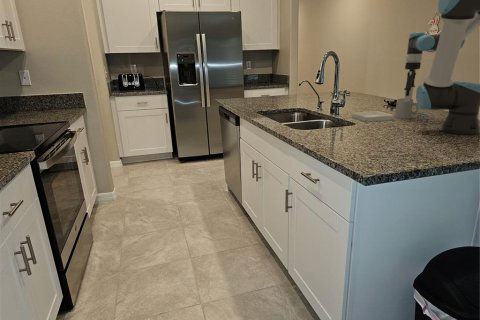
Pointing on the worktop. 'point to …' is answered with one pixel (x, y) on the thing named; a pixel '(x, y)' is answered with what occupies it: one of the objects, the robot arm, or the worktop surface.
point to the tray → (372, 116)
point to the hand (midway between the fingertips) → (408, 100)
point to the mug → (405, 109)
